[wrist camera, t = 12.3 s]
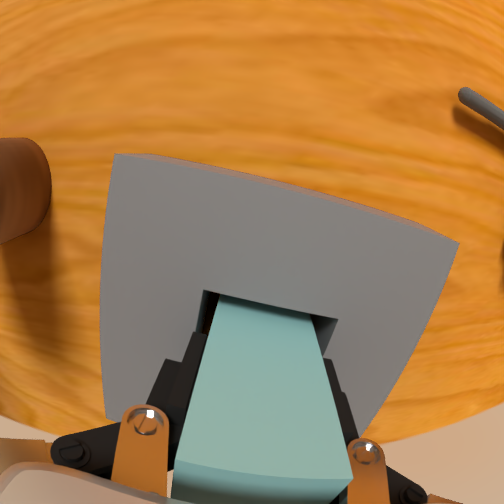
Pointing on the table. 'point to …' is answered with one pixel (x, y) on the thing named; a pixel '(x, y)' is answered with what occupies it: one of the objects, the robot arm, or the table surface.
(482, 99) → the walkie-talkie
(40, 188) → the round plug
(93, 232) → the table surface
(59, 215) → the table surface
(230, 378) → the square peg
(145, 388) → the socket block
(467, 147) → the table surface
